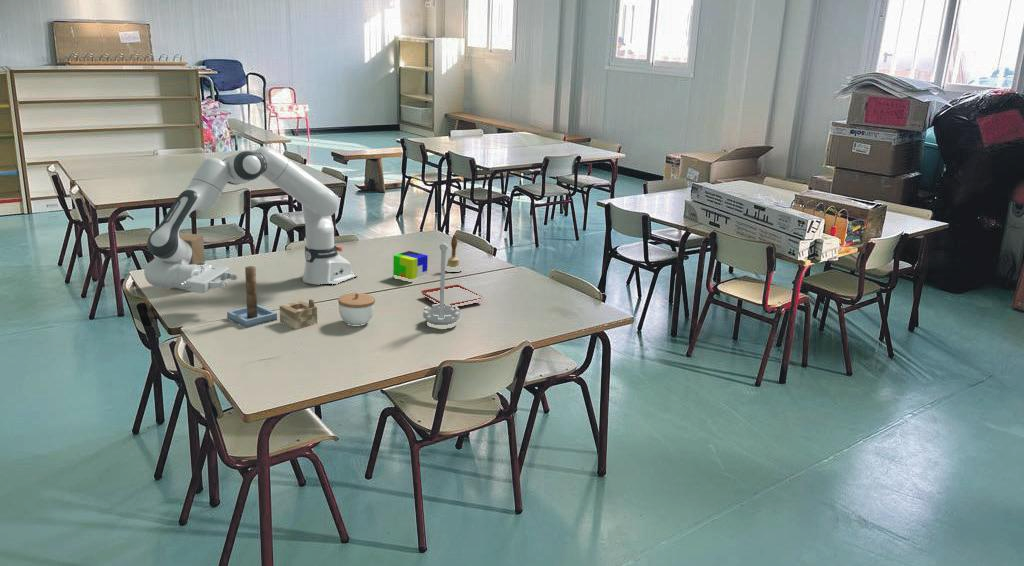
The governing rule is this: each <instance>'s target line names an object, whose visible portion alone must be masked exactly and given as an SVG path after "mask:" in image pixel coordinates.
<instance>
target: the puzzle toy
mask: <svg viewBox="0 0 1024 566" xmlns="http://www.w3.org/2000/svg"><path fill="white" fill-rule="evenodd" d="M428 261H429V258H428V255H427V254H423V253H419V252H415V251H411V250H408V251H404V252H400V253H397V254H394V255H393V266H392V267H393V269H392V270H393V271H392V272H393V275H397V276H401V277H405V278H408V279H414V278H416V277H419V276H422V275H424V274H427V275H428V263H429V262H428ZM393 275H392V276H393Z"/></svg>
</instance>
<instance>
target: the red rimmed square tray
mask: <svg viewBox="0 0 1024 566" xmlns="http://www.w3.org/2000/svg"><path fill="white" fill-rule="evenodd" d="M453 287H460V288H462V289H465V290H468V291H470V292H472V293H474V294H476V295H479V296H481V297H483V295H480V294H478V293H476V292H474V291H472V290H470V289H469V288H466V287H464V286H462V285H460V284H452V285H447V286H445V289H448V288H453ZM438 290H440V287H434V288H428V289H422V290H420V293H421V294H422V295H423V296H424V295H425V296H427V297H429V298H431V299H433V300H435V301H436V302H438V303H440V301H439V300H437V299H435V298H433V297H431V296H430V295H428V294H426V293H427V292H433V291H438ZM425 296H424V297H425ZM478 299H481V298H478ZM473 300H477V299H473ZM473 300H467V301H462V302H456V303H451V304H448V305H455V304H460V303H464V302H468V301H473ZM444 306H445V304H444Z"/></svg>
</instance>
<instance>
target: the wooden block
mask: <svg viewBox="0 0 1024 566" xmlns="http://www.w3.org/2000/svg"><path fill="white" fill-rule="evenodd" d="M179 237H180V238H181V239H183V240H184V241H185V242H186V243H188V244H189V245H190V247H191V248H192V258H191V261H190V263H189V265H191V264H199V263H206V260H205V259H206V258H205V246H204V244H205V243H204V235H203V234H198V233H196V234H195V233H187V232H185V233H184V232H179ZM169 290H177V291H184V290H183V289H179V288H169Z"/></svg>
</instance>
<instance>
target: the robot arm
mask: <svg viewBox="0 0 1024 566" xmlns="http://www.w3.org/2000/svg"><path fill="white" fill-rule="evenodd" d="M259 177H264V178H265V179H267V180H268V181H269V182H271V183H272V184H273V185H275V186H276V187H278V188H279V189H280V190H282V191H283V192H285V193H286V194H287V195H288V196H290V197H292V198H293V199H294V200H296V201H297V202H298V203H300V205H302V213H303V214H302V215H303V219H304V227H305V246H304V257H305V264H304V266H305V267H304V272H303V275H302V281H303V282H304V283H306V284H310V285H320V284H321V285H322V284H332V285H331V286H334V285H333V284H336V285H339V284H341V283H340V282H342V281H345V280H347V279H349V278H351V277H354V276H355V275H354V274H352V273H354V271H353V270H352V264H351V263H350V262H349V260H347V259H346V258H344V257H343V256H341V255H340V254H339V252H340V253H341V252H343V247H342V246H339V245H335V227H334V222H333V217H332V216H333V215H334V214H335V213H336V212H337V211H338V209H339V199H338V197H337V195H336V194H335V192H334V191H333V190H331V189H330V188H329V187H327V186H326V185H325V184H323V183H322V182H320V181H319V180H318V179H316V178H315V177H314V176H312V175H311V174H310V173H308V172H307V171H305V170H304V169H303V168H302V167H300V166H299V165H297V163H295V162H294V161H292V160H291V159H289V158H288V157H286V156H285V155H283V153H281V152H279V151H277V150H275V149H273V148H271V147H268V146H264V145H263V146H260V147H258V148H257V149H255V151H249V150H245V151H241V152H236V153H233V154H231V155H230V156H228V157H226V158H224V159H220V158H218V157H207V158H205V159H204V160H203V161H202V163H201V164H200V165H199V167H198V168H197V170H196V171H195V172H194V175H193V176H192V178H191V180H190V182H189V184H188V186H187V187H186V188H185V190H184V191H182V192H180V194H179V195H178V196H177V198H176V199H175V201H174V202H173V203H172V205H171V207H170V208H169V210H168V212H167V213H166V214H165V216H164V218H163V219H162V220H161V222H160V224H158V226H156V228H155V229H154V230H152V232H150V234H149V236H148V238H147V241H146V245H147V246H146V247H147V249H148V252H149V253H150V254H151V255H153V256H155V257H154V258H153V259H152V260H151V261H149V262H147V263H146V264H145V266H144V269H143V270H144V271H143V272H144V276H145V280H146V282H147V283H149V284H150V285H151V286H154V287H158V288H164V289H165V288H166V289H170V288H179V289H183V290H182V291H184V290H187V291H186V292H192V293H198V294H205V293H207V292H208V291H210V290H211V289H212V290H213V289H224V288H225V287H226V286H227V285H226V284H227V283H226V282H225V280H228V279H229V280H230V281H236V280H238V279H239V277H238V274H237V273H232V272H230V268H229V267H227V266H225V265H217V264H208V262H205V263H199V264H191V265H189V263H190V261H191V258H192V248H191V247H190V245H189V244H188V243H186V242H185V241H184V240H183V239H181V238H180V237H179V233H180V230H181V228H182V227H183V226H184V223H185V222H186V221H187V219H188V217H189V216H190V215H191V213H192V212H193V211H194V212H195V211H207V210H211V209H213V208H214V207H215V206H216V205H217V204H218V202H219V200H220V199H221V196H222V194H223V191H224V190H225V187H226V185H227V184H228V185H234V186H236V185H241V184H246V183H249V182H251V181H254V180H257V178H259ZM345 282H346V281H345ZM338 283H339V284H338ZM342 283H343V282H342ZM321 285H320V286H321Z"/></svg>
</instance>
